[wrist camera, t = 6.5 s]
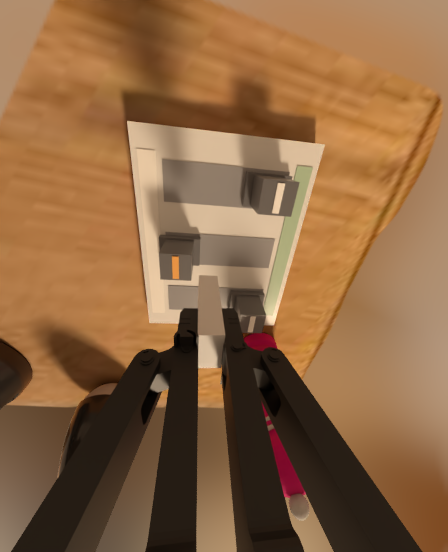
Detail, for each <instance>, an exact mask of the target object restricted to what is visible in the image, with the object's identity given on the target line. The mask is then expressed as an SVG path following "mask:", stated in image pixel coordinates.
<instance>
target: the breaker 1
mask: <svg viewBox="0 0 448 552" xmlns="http://www.w3.org/2000/svg"><path fill="white" fill-rule="evenodd" d="M264 297H265V294H264V292H255V291H231V292H230V299H229V307H228V308H234V309H235V311H236V312H237V313H238V317H239V322H240V326H241V330H242V333H262V331H263V327H264V323H265V319H266V313H265V310H264V308H263V301H264Z"/></svg>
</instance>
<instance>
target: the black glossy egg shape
mask: <svg viewBox="0 0 448 552" xmlns="http://www.w3.org/2000/svg"><path fill="white" fill-rule="evenodd" d="M117 384H118V383H109V384H104V385H101V386H99V387H97V388H96V389H94V390H93V391H91V392H90V393H89V394H88V395H87V396H86V397H85V399H84V400H82V401H81V402H80V403H79V405H78V406H77V408H76V410H75V412H74V415H73V418H72V420H71V423H70V425H69V428H68V431H67V434H66V437H65V441H64V445H63V449H62V454H61V459H60V464H59V471H58V477H59V475H60V474H61V472H62V471H63V469H64V468H65V466H66V464H67V463H68V461H69V460H70V458H71V456H72V455H73V453H74V452H75V450H76V449H77V447H78V445H79V444H80V442H81V441H82V439H83V438H84V436H85V434H86V433H87V431H88V430H89V428H90V426H91V425H92V423H93V422H94V420H95V419H96V417H97V415H98V414H99V412H100V411H101V409H102V408H103V406H104V404H105V403H106V401H107V400H108V398H109V396H110V395H111V393H112V392H113V390H114V389H115V387H116V385H117Z"/></svg>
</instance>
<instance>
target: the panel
mask: <svg viewBox="0 0 448 552" xmlns="http://www.w3.org/2000/svg"><path fill="white" fill-rule="evenodd" d="M127 125H128V134H129V143H130V152H131V161H132V170H133V179H134V188H135V197H136V206H137V215H138V224H139V233H140V242H141V251H142V260H143V269H144V278H145V287H146V296H147V305H148V314H149V323H177V324H179V318H180V312H181V311H182V310H183V309H184V308H198V286H199V275H208V276H217V277H218V285H219V292H220V299H221V307H222V308H228V307H229V299H230V292H231V291H255V292H264V294H265V297H264V301H263V308H264V310H265V313H266V319H265V323H264V325H273V326H274V323H275V319H276V316H277V312H278V309H279V305H280V302H281V298H282V295H283V291H284V287H285V284H286V280H287V277H288V273H289V270H290V266H291V263H292V259H293V256H294V252H295V249H296V245H297V241H298V238H299V234H300V231H301V227H302V224H303V220H304V217H305V213H306V210H307V206H308V203H309V199H310V195H311V192H312V188H313V185H314V181H315V178H316V174H317V171H318V167H319V164H320V160H321V156H322V153H323V149H324V146H325V144H316V143H308V142H300V141H291V140H283V139H275V138H266V137H258V136H249V135H241V134H233V133H224V132H216V131H208V130H199V129H191V128H183V127H174V126H166V125H158V124H149V123H141V122H133V121H127ZM246 171H250V172H259V173H269V174H279V175H289V176H292V180H294V181H297V182H300V183H299V187H298V191H297V195H296V199H295V203H294V207H293V211H292V215H291V217H286V216H273V215H260V214H257V213H256V212H255V211H254V209H253V208H252V207H243V206H242V200H243V192H244V185H245V177H246ZM160 235H175V236H190V237H201V241H200V265H199V266H193V271H192V279H191V281H184V280H160V265H159V252H160V248H159V236H160Z"/></svg>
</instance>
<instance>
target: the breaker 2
mask: <svg viewBox="0 0 448 552" xmlns="http://www.w3.org/2000/svg"><path fill="white" fill-rule="evenodd" d="M299 183H300V182H297V181H294V180H292V176H289V175H279V174H269V173H259V172H250V171H246V177H245V185H244V192H243V200H242V206H243V207H252V208H253V209H254V211H255V212H256V213H257V214H260V215H273V216H286V217H291V215H292V211H293V207H294V203H295V199H296V195H297V191H298V187H299Z"/></svg>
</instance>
